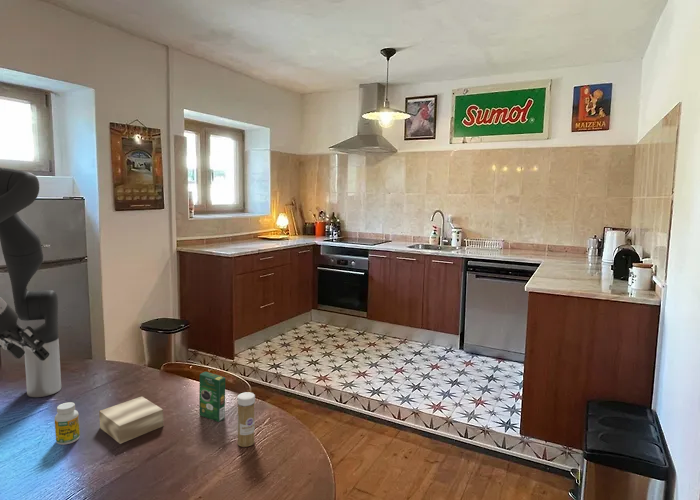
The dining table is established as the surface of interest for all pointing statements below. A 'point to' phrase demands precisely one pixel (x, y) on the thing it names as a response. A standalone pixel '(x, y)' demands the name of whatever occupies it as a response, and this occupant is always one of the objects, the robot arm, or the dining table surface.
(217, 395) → the coffee box
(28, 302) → the robot arm
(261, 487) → the dining table surface
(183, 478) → the dining table surface
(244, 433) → the sprinkles bottle
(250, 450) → the dining table surface
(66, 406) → the supplement bottle
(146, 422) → the pale wooden block
